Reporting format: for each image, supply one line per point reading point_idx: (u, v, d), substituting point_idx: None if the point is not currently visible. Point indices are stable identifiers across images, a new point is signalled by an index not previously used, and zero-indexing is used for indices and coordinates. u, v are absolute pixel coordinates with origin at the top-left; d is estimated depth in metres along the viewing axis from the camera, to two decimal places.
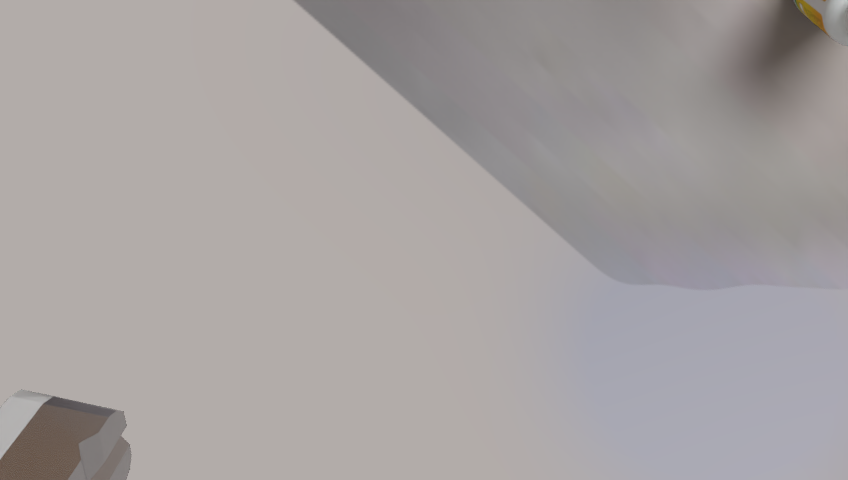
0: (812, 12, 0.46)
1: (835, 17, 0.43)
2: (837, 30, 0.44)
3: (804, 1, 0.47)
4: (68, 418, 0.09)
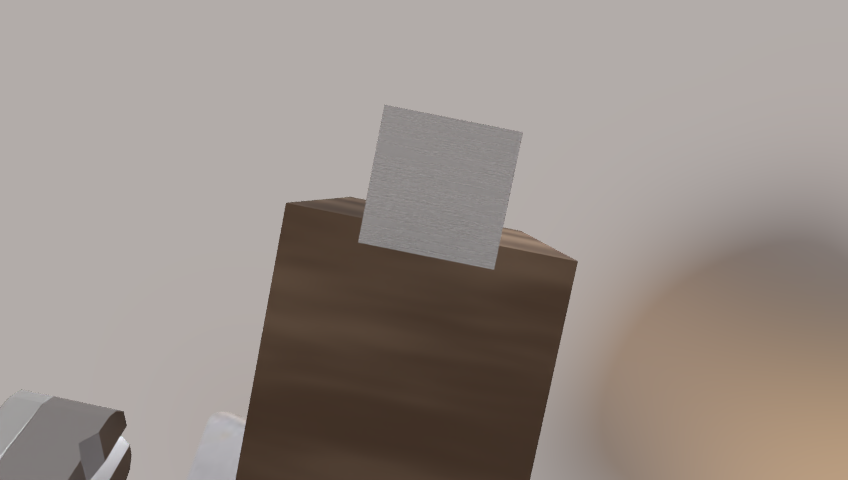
0: None
1: None
2: None
3: None
4: (68, 418, 0.09)
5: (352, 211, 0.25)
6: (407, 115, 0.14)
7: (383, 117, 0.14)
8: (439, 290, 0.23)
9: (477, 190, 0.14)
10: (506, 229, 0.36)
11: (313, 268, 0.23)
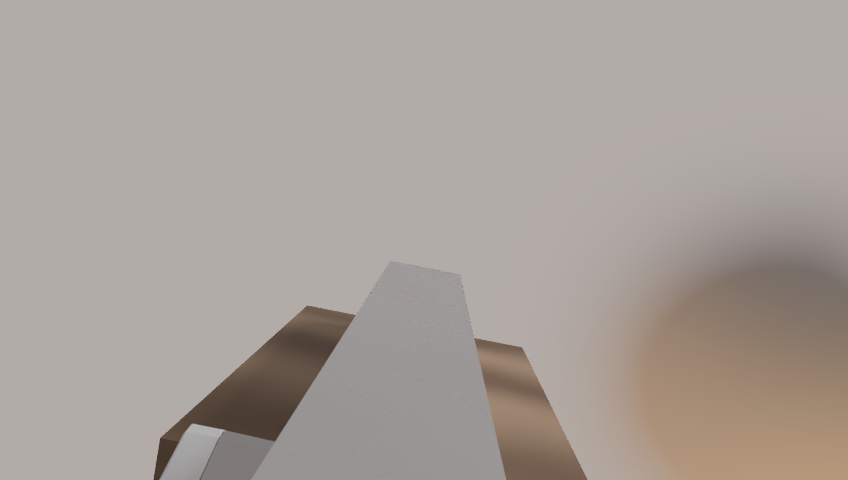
0: None
1: None
2: None
3: None
4: (247, 454, 0.09)
5: (276, 414, 0.17)
6: None
7: None
8: None
9: None
10: (503, 353, 0.29)
11: None
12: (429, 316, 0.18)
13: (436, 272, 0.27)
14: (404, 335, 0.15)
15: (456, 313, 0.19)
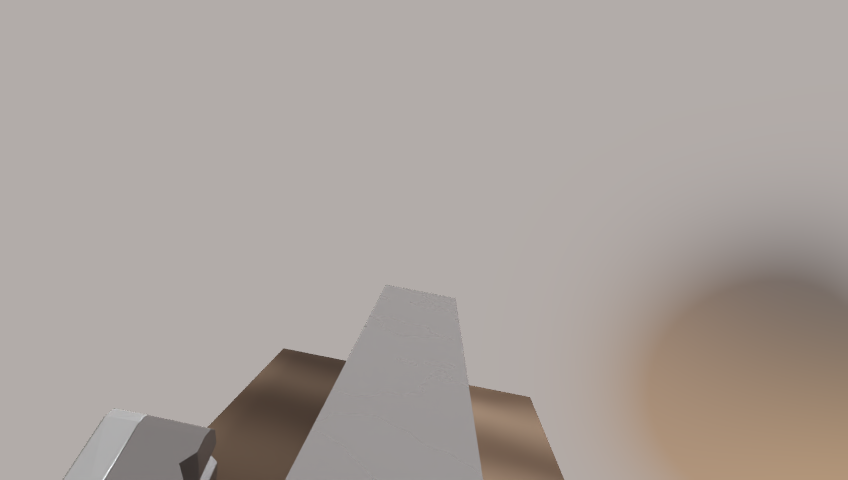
0: None
1: None
2: None
3: None
4: (166, 438, 0.09)
5: None
6: None
7: None
8: None
9: None
10: (509, 407, 0.25)
11: None
12: (423, 353, 0.18)
13: (431, 296, 0.27)
14: (397, 378, 0.15)
15: (450, 348, 0.19)
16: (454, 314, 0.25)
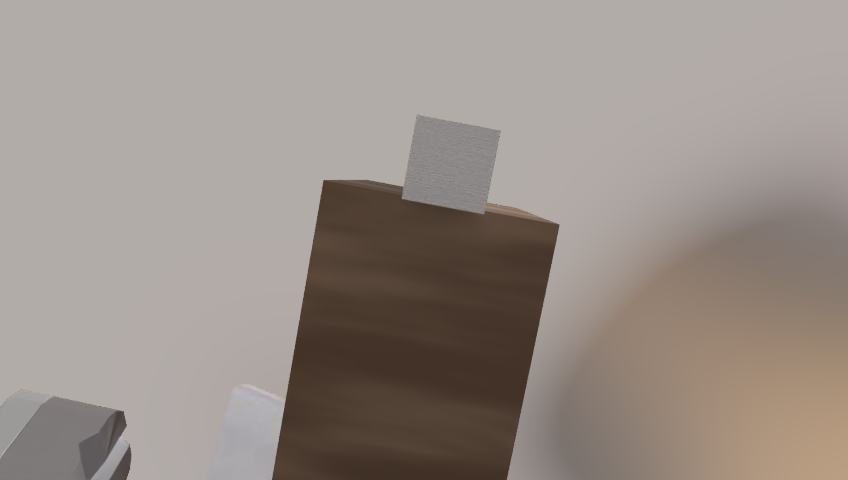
0: None
1: None
2: None
3: None
4: (68, 418, 0.09)
5: None
6: (430, 121, 0.23)
7: (416, 122, 0.23)
8: (448, 249, 0.28)
9: (473, 165, 0.24)
10: (503, 206, 0.42)
11: (346, 233, 0.28)
12: None
13: None
14: None
15: None
16: None
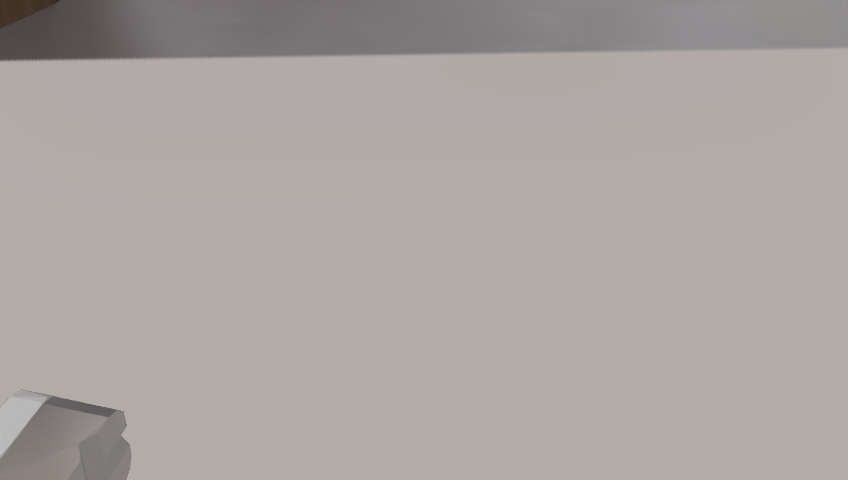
0: None
1: None
2: None
3: None
4: (68, 418, 0.09)
5: None
6: None
7: None
8: None
9: None
10: None
11: None
12: None
13: None
14: None
15: None
16: None
